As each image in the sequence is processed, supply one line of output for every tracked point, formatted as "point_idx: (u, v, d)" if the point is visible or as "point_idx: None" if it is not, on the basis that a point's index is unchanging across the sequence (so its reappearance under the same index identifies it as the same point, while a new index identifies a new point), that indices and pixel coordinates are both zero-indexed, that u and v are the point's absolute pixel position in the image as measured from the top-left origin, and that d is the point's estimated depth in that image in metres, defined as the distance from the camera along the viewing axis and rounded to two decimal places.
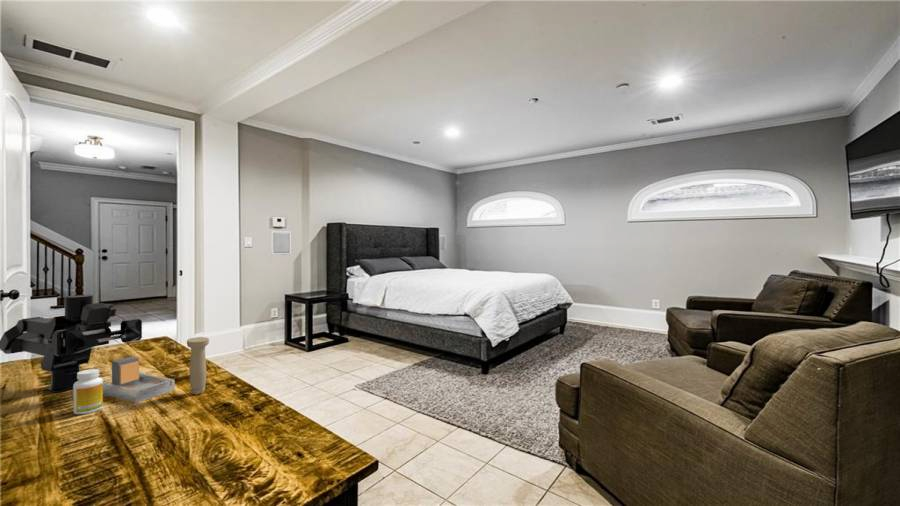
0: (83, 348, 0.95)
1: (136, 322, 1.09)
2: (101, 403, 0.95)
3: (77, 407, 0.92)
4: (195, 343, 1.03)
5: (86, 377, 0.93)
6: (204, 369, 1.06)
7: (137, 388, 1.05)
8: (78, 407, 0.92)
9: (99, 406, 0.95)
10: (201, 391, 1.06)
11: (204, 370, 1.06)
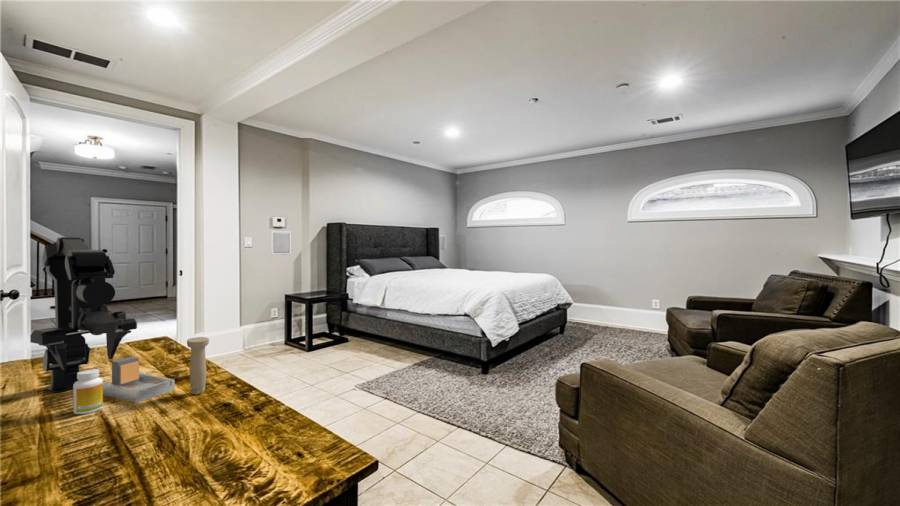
0: (53, 354, 0.89)
1: (128, 332, 1.00)
2: (101, 403, 0.95)
3: (77, 407, 0.92)
4: (195, 343, 1.03)
5: (86, 377, 0.93)
6: (204, 369, 1.06)
7: (137, 388, 1.05)
8: (78, 407, 0.92)
9: (99, 406, 0.95)
10: (201, 391, 1.06)
11: (204, 370, 1.06)
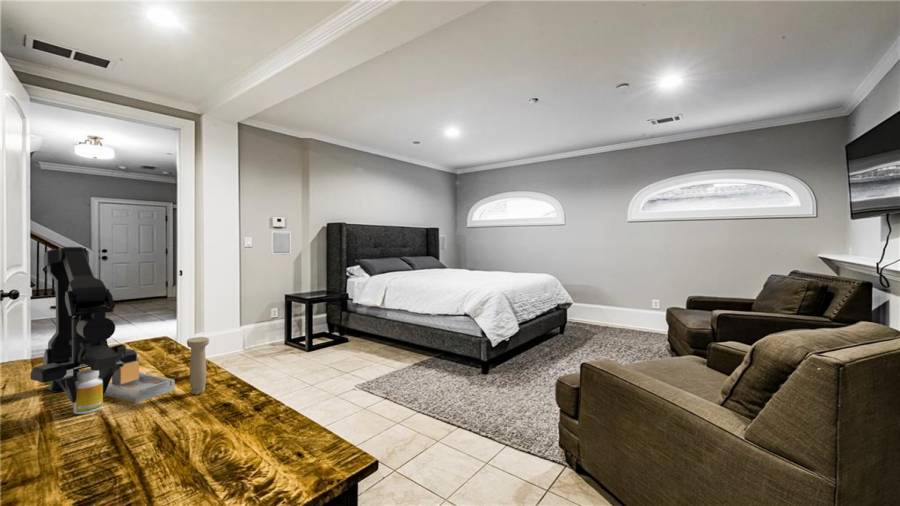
0: (63, 388, 0.91)
1: (121, 366, 0.99)
2: (101, 403, 0.95)
3: (77, 407, 0.92)
4: (195, 343, 1.03)
5: (86, 377, 0.93)
6: (204, 369, 1.06)
7: (137, 388, 1.05)
8: (78, 407, 0.92)
9: (99, 406, 0.95)
10: (201, 391, 1.06)
11: (204, 370, 1.06)
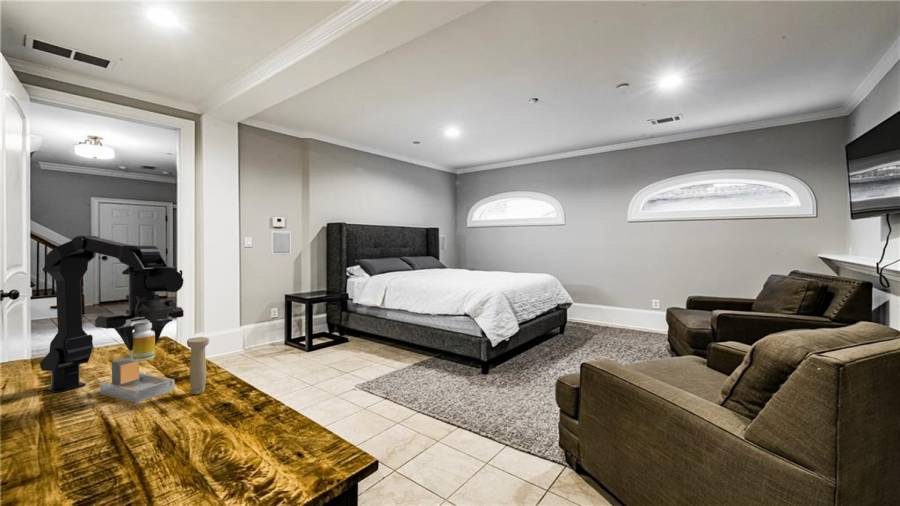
0: (121, 337, 1.01)
1: (170, 321, 1.09)
2: (154, 353, 1.05)
3: (133, 354, 1.02)
4: (195, 343, 1.03)
5: (141, 328, 1.03)
6: (204, 369, 1.06)
7: (137, 388, 1.05)
8: (135, 355, 1.02)
9: (152, 355, 1.04)
10: (201, 391, 1.06)
11: (204, 370, 1.06)
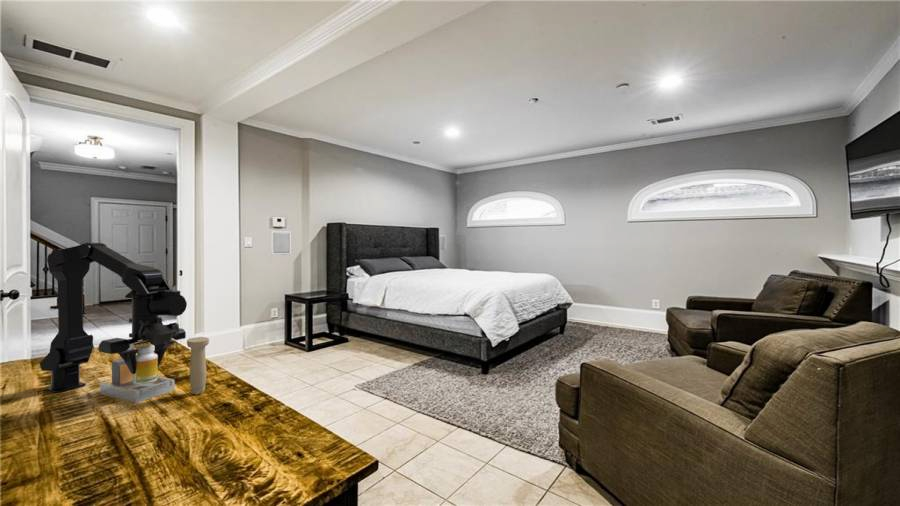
0: (124, 360, 1.02)
1: (172, 343, 1.09)
2: (156, 375, 1.06)
3: (136, 378, 1.02)
4: (195, 343, 1.03)
5: (144, 351, 1.03)
6: (204, 369, 1.06)
7: (137, 388, 1.05)
8: (138, 378, 1.02)
9: (155, 378, 1.05)
10: (201, 391, 1.06)
11: (204, 370, 1.06)
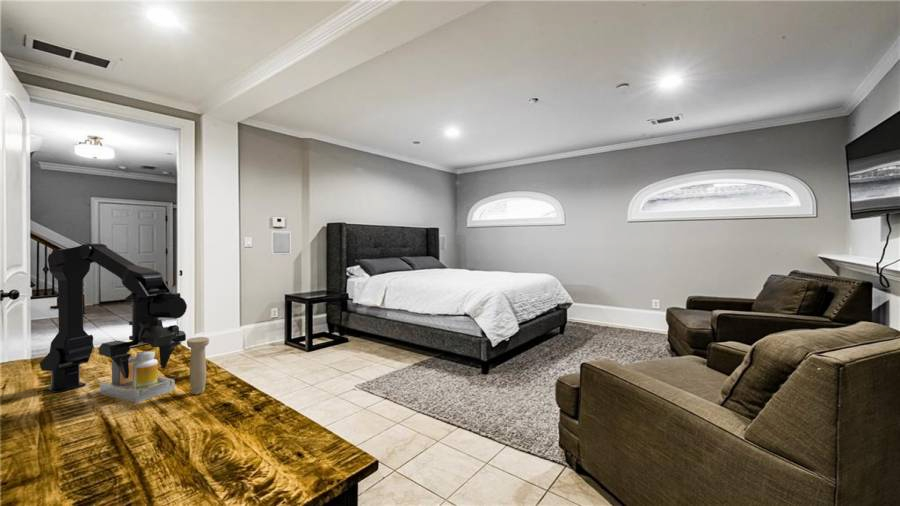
0: (117, 365, 1.00)
1: (179, 344, 1.11)
2: (156, 381, 1.06)
3: (136, 384, 1.02)
4: (195, 343, 1.03)
5: (145, 358, 1.03)
6: (204, 369, 1.06)
7: None
8: (138, 384, 1.02)
9: None
10: (201, 391, 1.06)
11: (204, 370, 1.06)
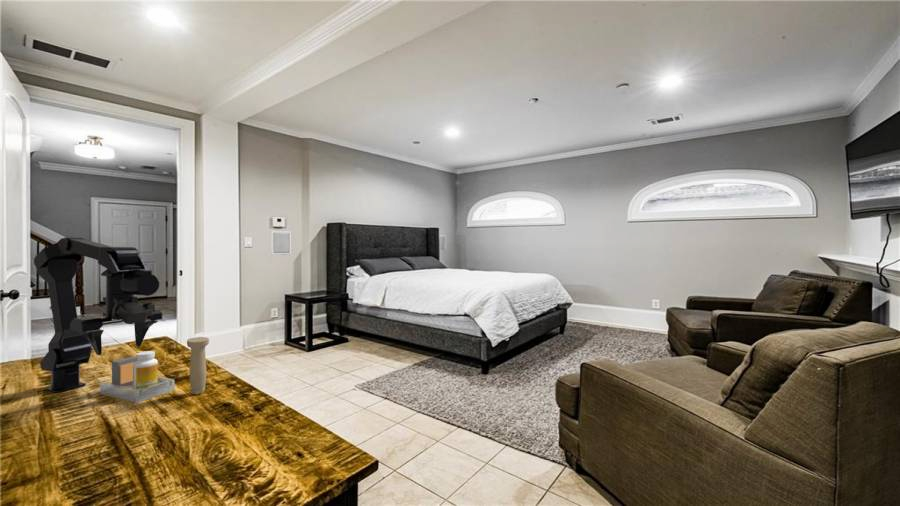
0: (89, 341, 0.98)
1: (155, 322, 1.09)
2: (156, 381, 1.06)
3: (136, 384, 1.02)
4: (195, 343, 1.03)
5: (144, 358, 1.03)
6: (204, 369, 1.06)
7: None
8: (138, 384, 1.02)
9: None
10: (201, 391, 1.06)
11: (204, 370, 1.06)
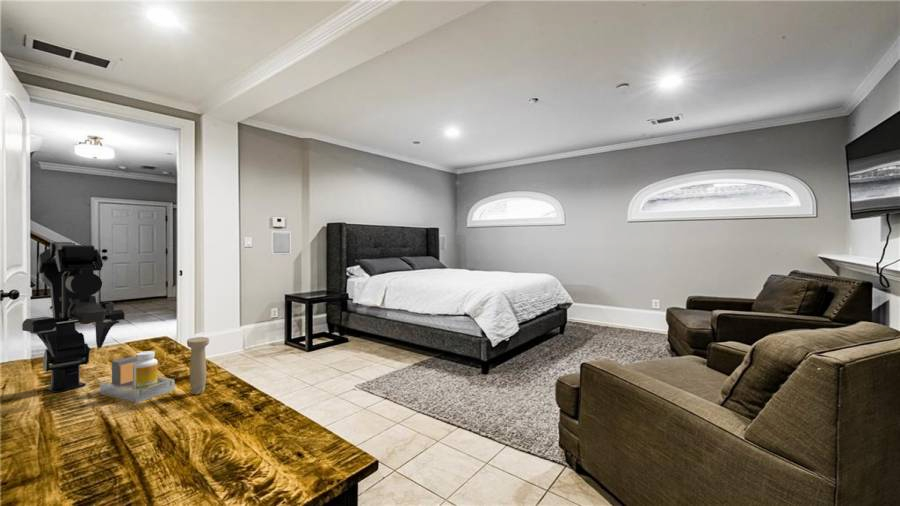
0: (44, 342, 0.94)
1: (116, 322, 1.05)
2: (156, 381, 1.06)
3: (136, 384, 1.02)
4: (195, 343, 1.03)
5: (144, 358, 1.03)
6: (204, 369, 1.06)
7: None
8: (138, 384, 1.02)
9: None
10: (201, 391, 1.06)
11: (204, 370, 1.06)
